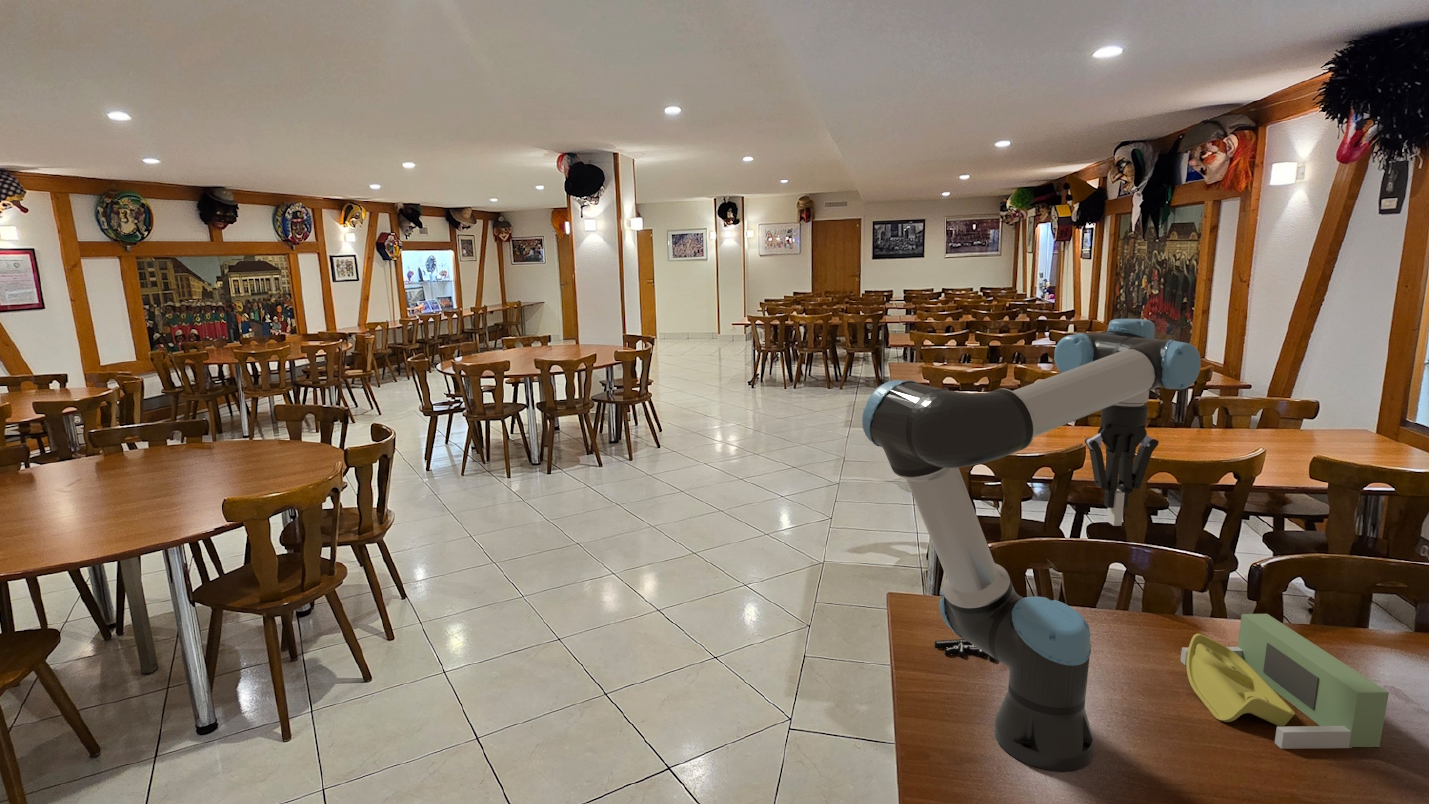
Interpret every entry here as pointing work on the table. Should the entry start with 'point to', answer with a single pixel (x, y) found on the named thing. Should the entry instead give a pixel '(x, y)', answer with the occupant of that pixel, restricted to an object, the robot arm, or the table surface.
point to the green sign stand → (1312, 687)
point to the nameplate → (960, 648)
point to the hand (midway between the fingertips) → (1114, 523)
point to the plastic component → (1231, 684)
